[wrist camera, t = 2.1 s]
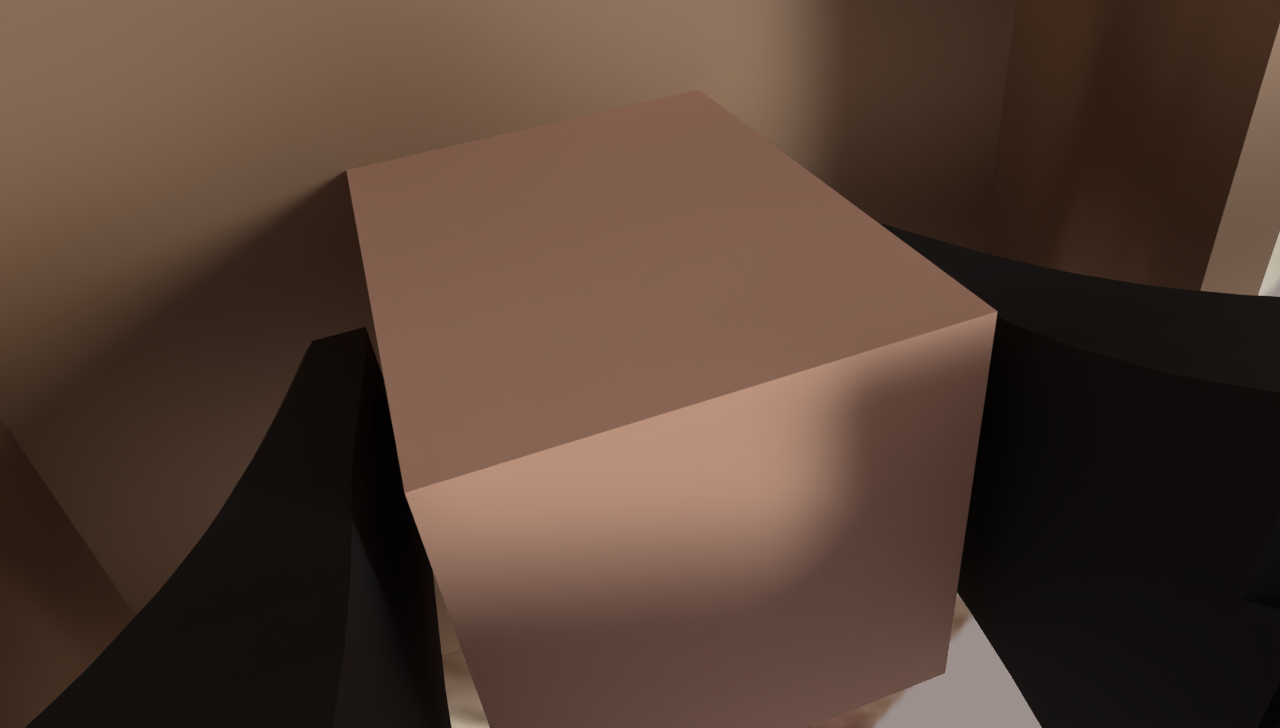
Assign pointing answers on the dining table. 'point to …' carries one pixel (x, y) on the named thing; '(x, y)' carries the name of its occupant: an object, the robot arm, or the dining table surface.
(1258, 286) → the box
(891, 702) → the dining table surface
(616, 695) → the block
